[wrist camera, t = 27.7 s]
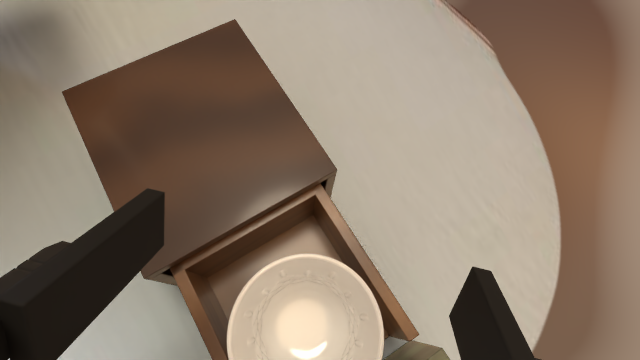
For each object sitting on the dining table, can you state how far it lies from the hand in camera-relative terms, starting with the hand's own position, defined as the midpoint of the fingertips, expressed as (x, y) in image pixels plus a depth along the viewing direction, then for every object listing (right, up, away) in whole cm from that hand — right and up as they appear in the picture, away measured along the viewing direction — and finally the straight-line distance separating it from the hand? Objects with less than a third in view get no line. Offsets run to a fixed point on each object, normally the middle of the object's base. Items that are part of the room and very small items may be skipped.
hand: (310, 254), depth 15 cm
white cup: (-1, -8, +12) cm, 15 cm away
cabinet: (-9, +4, +18) cm, 21 cm away
